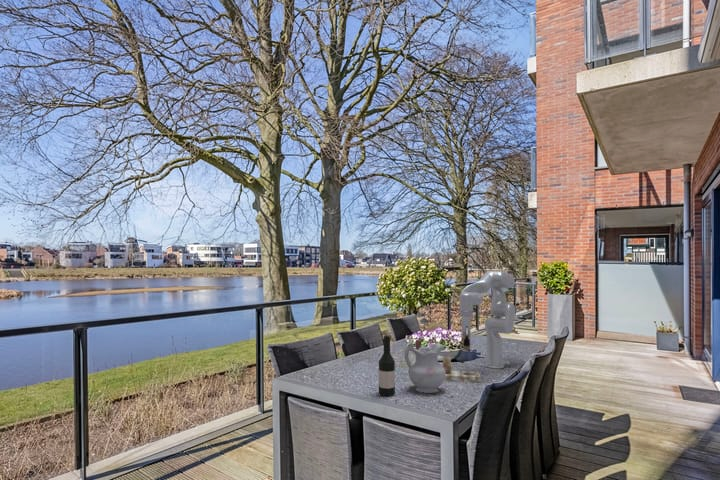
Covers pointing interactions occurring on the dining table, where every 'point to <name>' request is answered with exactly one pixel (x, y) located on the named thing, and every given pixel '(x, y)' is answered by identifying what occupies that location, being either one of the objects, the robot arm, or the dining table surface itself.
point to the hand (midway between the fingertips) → (466, 344)
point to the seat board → (459, 373)
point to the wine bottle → (386, 371)
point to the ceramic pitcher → (426, 368)
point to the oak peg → (466, 346)
